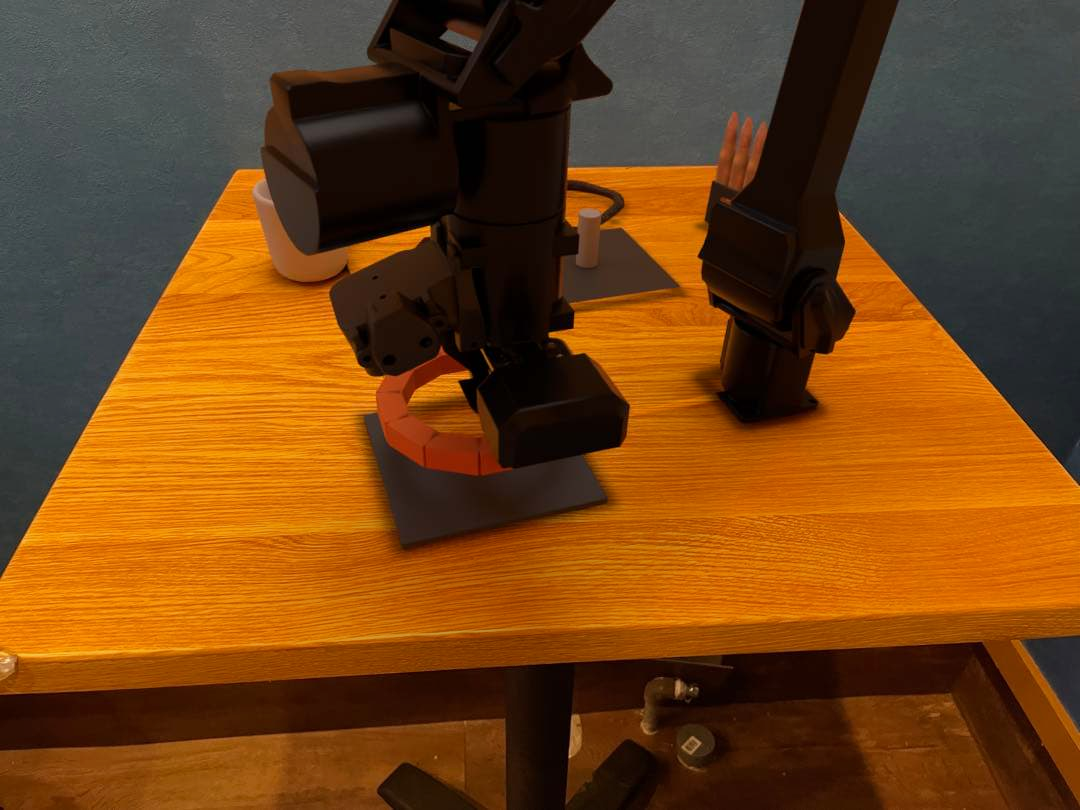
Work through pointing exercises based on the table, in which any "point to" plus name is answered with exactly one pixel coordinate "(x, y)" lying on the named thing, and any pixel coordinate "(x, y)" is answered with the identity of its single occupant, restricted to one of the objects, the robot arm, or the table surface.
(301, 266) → the cup
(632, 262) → the stake
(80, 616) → the table surface
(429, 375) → the ring
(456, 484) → the mat
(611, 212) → the curled ridged horns
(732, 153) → the ammunition clip
